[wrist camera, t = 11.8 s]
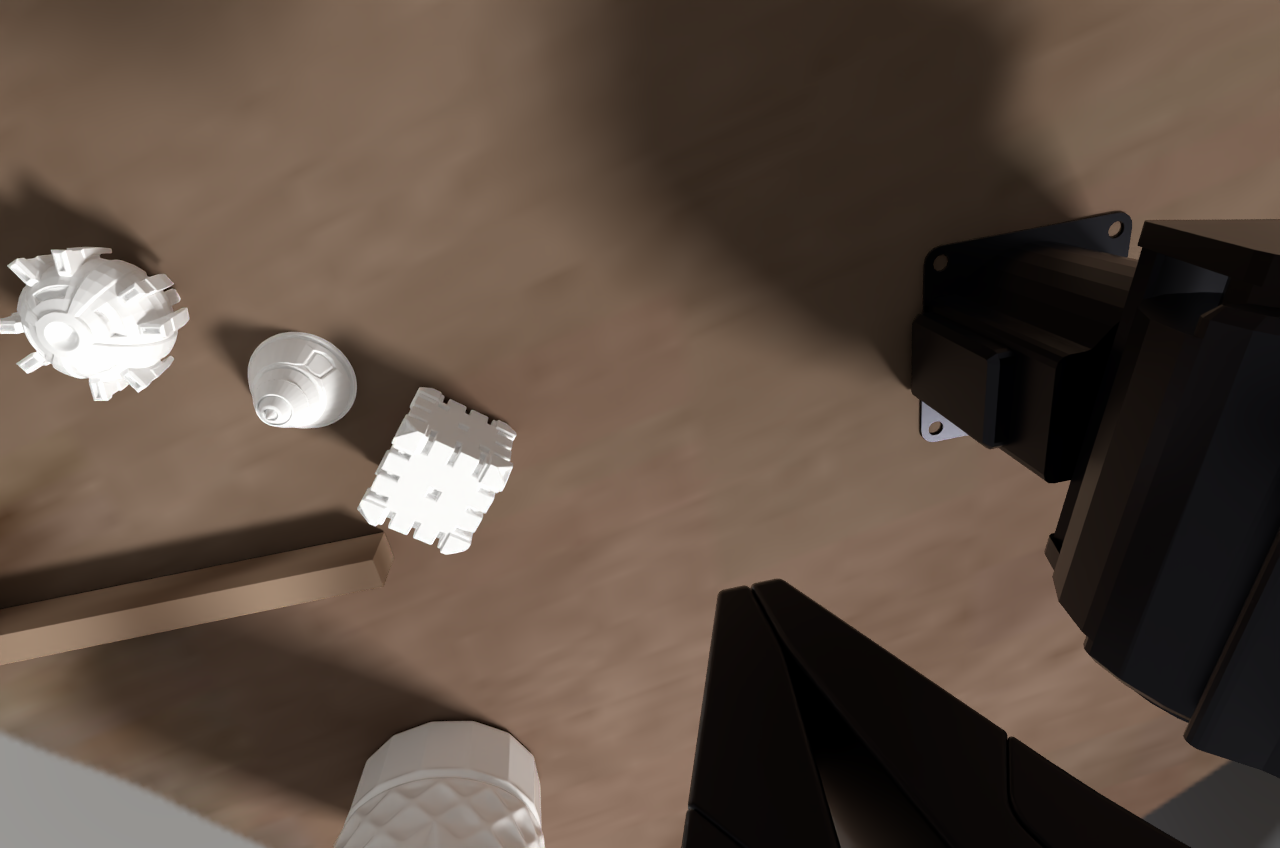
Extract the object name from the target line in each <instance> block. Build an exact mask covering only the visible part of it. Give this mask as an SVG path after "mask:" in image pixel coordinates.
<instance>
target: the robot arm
mask: <svg viewBox="0 0 1280 848" xmlns="http://www.w3.org/2000/svg"><path fill="white" fill-rule="evenodd" d="M1116 221H1120V222H1121V223H1122V230H1121V232H1120V234H1119V235H1118V236H1116V237H1114V238H1111V237H1110V236H1109V234H1108V230H1109V228H1110V226H1111V225H1112V224H1113V223H1114V222H1116ZM1131 230H1132V220H1131V218H1130V216H1129V215H1127V214H1126V213H1119V212H1116V213H1111V214H1105V215H1100V216H1095V217H1089V218H1084V219H1079V220H1074V221H1068V222H1063V223H1058V224H1052V225H1047V226H1042V227H1036V228H1031V229H1026V230H1020V231H1015V232H1010V233H1004V234H999V235H994V236H988V237H983V238H978V239H973V240H967V241H962V242H957V243H951V244H946V245H941V246H938V247H935V248H933V249H932V250H931V251H930V252H929V253H928V255H927V256H926V258H925V261H924V273H923V313H922V314H918V315H917V316H916V318H915V320H914V321H913V324H912V384H911V391H912V394H913V395H914V396H916V397H917V398H918V399H920V400H921V410H920V432H921V436H922V437H923V438H924V439H925V440H927V441H929V442H936V441H941V440H946V439H951V438H956V437H961V436H966V435H969V436H971V437H972V438H973V439H975V440H976V441H977V442H979V443H980V444H982V445H983V446H984V447H986V448H988V449H994V448H1000V449H1001V450H1002V451H1004V452H1005V453H1007V454H1008V455H1009V456H1011V457H1012V458H1014V459H1015V460H1017V461H1018V462H1019V463H1021V464H1022V465H1024V466H1025V467H1026V468H1028V469H1029V470H1031V471H1032V472H1034V473H1035V474H1036V475H1038V476H1039V477H1041V478H1042V479H1044V480H1045V481H1046V482H1048V483H1058V482H1063V481H1067V480H1071V482H1070V485H1069V489H1068V492H1067V495H1066V498H1065V502H1064V505H1063V508H1062V511H1061V515H1060V518H1059V521H1058V525H1057V528H1056V531H1055V533H1053V534H1050V535H1049V539H1048V542H1047V545H1046V549H1045V555H1046V557H1047V559H1048V561H1049V562H1050V564H1051V566H1052V568H1053V569H1054V573H1053V581H1054V585H1055V589H1056V593H1057V597H1058V601H1059V602H1060V604H1061V605H1062V606H1063V608H1064V609H1065V610H1066V611H1067V613H1068V614H1069V615H1070V617H1071V618H1072V619H1073V621H1074V622H1075V623H1076V624H1077V626H1078V627H1079V628H1080V630H1081V631H1082V632H1083V633H1084V634H1085V635H1086V639H1085V641H1084V649H1085V650H1086V652H1087V653H1088V654H1089V655H1090V656H1091V657H1092V659H1093V660H1094V661H1095V662H1096V663H1098V664H1099V665H1100V666H1102V667H1103V668H1104V669H1105V670H1107V671H1108V672H1109V673H1110V674H1112V675H1113V676H1114V677H1116V678H1117V679H1118V680H1119V681H1121V682H1122V683H1123V684H1124V685H1126V686H1128V687H1129V688H1131V689H1132V690H1134V691H1135V692H1137V693H1138V694H1139V695H1141V696H1142V697H1143V698H1145V699H1146V700H1148V701H1149V702H1150V703H1152V704H1154V705H1155V706H1157V707H1159V708H1161V709H1162V710H1164V711H1166V712H1168V713H1169V714H1171V715H1173V716H1175V717H1177V718H1178V719H1181V720H1183V721H1185V722H1188V725H1187V727H1186V730H1185V732H1184V735H1183V736H1184V738H1185V740H1186V741H1187V742H1188V743H1189V744H1190V745H1191V746H1193V747H1195V748H1196V749H1199V750H1201V751H1204V752H1207V753H1210V754H1213V755H1217V756H1220V757H1223V758H1226V759H1229V760H1232V761H1235V762H1238V763H1241V764H1245V765H1248V766H1251V767H1254V768H1257V769H1260V770H1263V771H1265V772H1267V773H1269V774H1272V775H1274V776H1276V777H1278V778H1280V219H1251V220H1146V221H1145V222H1144V225H1143V229H1142V232H1141V235H1140V238H1139V242H1138V246H1140V247H1142V251H1141V254H1140V257H1139V260H1136V259H1132V258H1127V257H1128V250H1129V244H1130V237H1131ZM941 254H945V255H946V256H947V258H948V263H947V266H946V267H945V268H944V269H943V270H941V271H936V270H935V269H934V267H933V262H934V260H935V258H936V257H937V256H939V255H941ZM936 421H940V422H941V424H942V427H941V430H940V431H939V432H938V433H936V434H930V433H929V430H928V429H929V426H930V425H931V424H932V423H933V422H936ZM688 809H689V810H688V811H687V813H686V819H685V826H684V833H683V840H682V846H681V848H1191V847H1189V846H1187V845H1185V844H1184V843H1182V842H1180V841H1178V840H1177V839H1175V838H1173V837H1172V836H1170V835H1168V834H1166V833H1165V832H1163V831H1161V830H1160V829H1158V828H1156V827H1154V826H1153V825H1151V824H1150V823H1148V822H1146V821H1145V820H1143V819H1141V818H1140V817H1138V816H1136V815H1135V814H1133V813H1131V812H1130V811H1128V810H1126V809H1125V808H1123V807H1121V806H1119V805H1118V804H1116V803H1114V802H1113V801H1111V800H1109V799H1108V798H1106V797H1104V796H1103V795H1101V794H1099V793H1098V792H1096V791H1095V790H1093V789H1092V788H1090V787H1089V786H1087V785H1086V784H1084V783H1082V782H1081V781H1079V780H1078V779H1076V778H1075V777H1073V776H1072V775H1070V774H1069V773H1067V772H1066V771H1064V770H1063V769H1061V768H1059V767H1058V766H1056V765H1055V764H1053V763H1052V762H1050V761H1049V760H1047V759H1046V758H1044V757H1043V756H1041V755H1040V754H1038V753H1037V752H1035V751H1034V750H1032V749H1031V748H1029V747H1028V746H1027V745H1025V744H1024V743H1022V742H1021V741H1019V740H1018V739H1016V738H1015V737H1009V738H1008V740H1007V733H1006V732H1005V731H1004V730H1003V729H1001V728H1000V727H998V726H997V725H995V724H994V723H992V722H991V721H989V720H988V719H986V718H985V717H984V716H982V715H981V714H979V713H978V712H976V711H975V710H973V709H972V708H970V707H969V706H967V705H966V704H964V703H963V702H962V701H960V700H959V699H957V698H956V697H954V696H953V695H951V694H950V693H948V692H947V691H945V690H944V689H942V688H941V687H940V686H938V685H937V684H935V683H934V682H932V681H931V680H929V679H928V678H926V677H925V676H923V675H922V674H920V673H919V672H918V671H916V670H915V669H913V668H912V667H910V666H909V665H907V664H906V663H904V662H903V661H901V660H900V659H898V658H897V657H896V656H894V655H893V654H891V653H890V652H888V651H887V650H885V649H884V648H882V647H881V646H879V645H878V644H876V643H875V642H874V641H872V640H871V639H869V638H868V637H866V636H865V635H863V634H862V633H860V632H859V631H857V630H856V629H855V628H853V627H852V626H850V625H849V624H847V623H846V622H844V621H843V620H841V619H840V618H838V617H837V616H835V615H834V614H833V613H831V612H830V611H828V610H827V609H825V608H824V607H822V606H821V605H819V604H818V603H816V602H815V601H813V600H812V599H811V598H809V597H808V596H806V595H805V594H803V593H802V592H800V591H799V590H797V589H796V588H794V587H793V586H791V585H790V584H789V583H787V582H786V581H784V580H782V579H773V580H768V581H763V582H758V583H754V584H753V585H752V586H751V588H749V587H748V586H739V587H735V588H730V589H725V590H722V591H720V592H719V594H718V597H717V604H716V611H715V618H714V625H713V632H712V639H711V646H710V653H709V660H708V667H707V674H706V681H705V688H704V695H703V703H702V710H701V717H700V724H699V731H698V738H697V745H696V752H695V759H694V766H693V773H692V780H691V787H690V794H689V801H688Z"/></svg>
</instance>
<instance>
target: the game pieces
mask: <svg viewBox="0 0 1280 848" xmlns="http://www.w3.org/2000/svg"><path fill="white" fill-rule="evenodd" d="M51 253H52V254H50V255H41V256H36V257H35V258H32V259H25V258H17V259H16V260H14V261H13V262H11V263H10V264H9V265H7V266H8V267H9V268H10V269H11V270H12V271H13V272H14V273H15V274H16V275H17V276H18V277H19V278H20V279H21V280H22V281H23V282H24V283H25V284H26V286H25V287H24V288H23V290H22V292H21V294H20V296H19V300H18V306H17V311H18V312H16V313H12V316H9V317H6V318H0V333H1V334H19V333H23V332H24V333H25V335H26V337H27V338H28V340H29V342H30V343H31V345H32V346H33V347H34V348H35V350H36V351H37V352H34V353H31V354H29V355H28V356H26V357H25V358H24V359H22V360H21V361H19V362H18V363H16V364H17V365H18V366H19V367H21V368H22V369H23V370H24V371H25V372H26V373H27V374H28V373H30V372H33V371H35V370H36V369H38V368H39V367H41V366H43V365H45V366H46V365H49V364H53V367H54V368H55V369H56V370H58V371H60V372H62V373H64V374H66V375H69V376H72V377H75V378H80V379H85V378H89V385H90V389H91V392H92V395H93V399H94V401H108V400H109V399H111V398H112V395H113V394H114V393H116V392H117V391H121V390H123V389H124V388H125V387H126V386H128V385H129V384H130V385H131V386H132V387H133V388H134V389H135V390H136V391H137V392H140V391H141V390H143V389H144V388H146V387H147V386H149V385H150V384H151V381H153V380H154V379H156V378H157V377H159V376H160V375H161V374H162V373H163V372H164V371H165V370H166V369H167V368H168V367H169V366H170V365H171V363H172V362H173V360H174V358H173V357H172V356H169V357H168V358H166V359H164V360H163V361H162V362H161V361H160V359H161V358H163V357H165V356H166V355H168V354H169V353H170V351H171V349H172V348H173V346H174V344H175V341H176V338H177V334H178V329H180V328H181V327H182V326H184V325H185V324H186V323H187V322H188V320H189V319H190V318H189V314H188V309H187V308H181V309H179V310H177V311H175V312H173V307H172V305H174V304H176V303H179V302H180V301H179V300H181V299H180V297H179V294H178V293H177V291H176V290H175V289H173V288H172V289H170V290H167V291H165V292H164V291H163V290H164V289H166V288H168V287H170V286H172V285H173V284H174V283H173V282H172V281H171V280H170V279H169V278H168V277H167V275H166V274H157V275H154V276H151V277H148V276H147V274H146V272H145V271H144V270H142V269H140V268H139V267H137V266H135V265H133V264H131V263H128V262H125V261H122V260H117V259H115V260H107V259H102V258H100V255H101V254H105V253H112V249H111V248H103V247H75V248H67V250H59V249H54V250H51ZM248 383H249V388H250V392H251V394H252V397H253V405H254V408H255V411H256V413H257V415H258V417H259V418H260V419H261V420H262V421H263V422H264V423H266V424H268V425H271V426H275V427H282V428H288V427H294V428H318V427H324V426H327V425H330V424H332V423H335V422H336V421H338V420H339V419H341V418H342V417H343V416H344V415H345V414H347V413H348V411H349V410H350V408H351V407H352V405H353V403H354V400H355V397H356V392H357V382H356V376H355V373H354V370H353V367H352V366H351V364H350V362H349V360H348V359H347V358H346V356H345V355H344V354H343V353H342V352H341V351H340V350H339V349H338V348H337V347H335V346H334V345H333V344H332V343H330V342H328V341H327V340H325V339H323V338H321V337H318V336H316V335H313V334H309V333H304V332H286V333H280V334H277V335H274V336H272V337H269V338H268V339H266V340H265V341H263V342H262V343H261V344H260V345H259V346H258V347H257V348H256V349H255V351H254V352H253V354H252V356H251V358H250V361H249V365H248ZM443 400H444V396H443V395H442V393H441V392H440V391H438V390H436V389H434V388H426V387H419V389H418V391H417V393H416V395H415V397H414V399H413V401H412V403H411V405H410V409H411V410H410V412H409V414H408V415H407V414H406V415H405V417H404V419H403V421H402V423H401V425H400V427H399V429H398V431H397V433H396V435H395V437H394V439H393V441H392V444H393V445H392V447H391V448H390V450H387V451H386V453H385V455H384V457H383V459H382V461H381V463H380V465H379V467H378V469H377V471H376V473H375V474H376V475H377V476H376V478H375V480H374V482H373V484H372V486H371V487H370V488H368V489H367V491H366V493H365V495H364V497H363V499H362V500H361V502H360V504H359V506H358V508H357V509H358V511H359V512H360V513H361V514H362V516H363V517H364V518H365V519H366V521H367V522H368V523H369V524H370V525H373V526H377V525H378V524H380V525H382V524H383V523H384V521H385V519H386V517H388V518H390V519H391V520H390V523H389V525H388V528H390V529H392V530H395V531H397V532H400V533H402V534H405V535H407V534H408V533H409V531H410V529H411V528H415V532H414V535H413V538H415V539H417V540H420V541H422V542H425V543H427V544H430V545H431V544H433V542H434V540H435V538H436V537H437V538H439V542H438V548H440V553H443V554H445V555H448V554H453V553H458V552H463V551H465V550H467V549H468V548H469V546H470V545H471V541H472V535H473V533H474V532H475V531H476V529H477V527H478V526H479V524H480V522H481V520H482V518H483V513H486V512H487V510H488V509H489V507H490V505H491V503H492V502H493V500H494V496H495V493H498V492H499V491H500V492H502V491H503V489H504V487H505V485H506V482H507V480H508V477H509V475H510V473H511V470H512V468H513V463H511V462H509V461H510V459H511V451H510V450H511V449H512V442H513V440H514V438H515V437H516V432H515V431H514V430H513V429H512V428H511V427H510V426H509V425H508V424H506V423H504V422H502V421H500V420H497V421H495V420H493V421H492V423H491V424H490V425H489V424H487V422H488V417H487V416H485V415H483V414H481V413H479V412H477V411H475V410H471V411H470V413H469V415H468V414H466V413H465V412H466V409H467V407H466V406H464V405H462V404H460V403H458V402H456V401H454V400H452V399H449V401H448V403H447V404H445V403H443Z"/></svg>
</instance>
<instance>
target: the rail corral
mask: <svg viewBox="0 0 1280 848" xmlns="http://www.w3.org/2000/svg"><path fill="white" fill-rule="evenodd" d="M393 559H394V557H393V554H392V551H391V549H390V546H389V543H388V541H387V538H386V536H385V533H384V532H382V533H377V534H372V535H367V536H362V537H357V538H352V539H347V540H343V541H338V542H333V543H328V544H323V545H318V546H313V547H308V548H303V549H298V550H293V551H288V552H283V553H278V554H273V555H268V556H263V557H258V558H253V559H248V560H243V561H238V562H233V563H228V564H223V565H218V566H213V567H208V568H203V569H199V570H194V571H189V572H184V573H179V574H174V575H169V576H164V577H159V578H154V579H149V580H144V581H139V582H134V583H129V584H124V585H119V586H114V587H109V588H104V589H99V590H94V591H89V592H84V593H79V594H74V595H69V596H64V597H59V598H55V599H50V600H45V601H40V602H35V603H30V604H25V605H20V606H15V607H10V608H5V609H0V665H4V664H9V663H14V662H18V661H23V660H28V659H33V658H38V657H43V656H48V655H53V654H57V653H62V652H67V651H72V650H77V649H82V648H87V647H92V646H96V645H101V644H106V643H111V642H116V641H121V640H126V639H131V638H135V637H140V636H145V635H150V634H155V633H160V632H165V631H169V630H174V629H179V628H184V627H189V626H194V625H199V624H204V623H208V622H213V621H218V620H223V619H228V618H233V617H238V616H243V615H247V614H252V613H257V612H262V611H267V610H272V609H277V608H282V607H286V606H291V605H296V604H301V603H306V602H311V601H316V600H320V599H325V598H330V597H335V596H340V595H345V594H350V593H355V592H359V591H364V590H369V589H374V588H379V587H383V586H384V584H385V581H386V578H387V575H388V573H389V570H390V567H391V564H392V562H393Z"/></svg>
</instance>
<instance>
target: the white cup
mask: <svg viewBox="0 0 1280 848" xmlns="http://www.w3.org/2000/svg"><path fill="white" fill-rule="evenodd" d="M333 848H545V843H544V835H543V832H542V829H541V789H540V780H539V776H538V772H537V768H536V764H535V760H534V757H533V755H532V754H531V753H530V752H529V751H528V750H527V749H526V748H525V747H524V746H523V745H522V744H521V743H519V742H518V741H517V740H516V739H515V738H514V737H513V736H512V735H511V734H510V733H508V732H505V731H502V730H499V729H496V728H493V727H490V726H487V725H484V724H481V723H478V722H475V721H433V722H429V723H426V724H423V725H420V726H417V727H415V728H412V729H409V730H406V731H404V732H401V733H398V734H395V735H393V736H392V737H391V738H390V739H389V740H388V741H387V742H386V743H385V744H384V745H382V746H381V747H380V748H379V749H378V750H377V751H376V752H375V753H374V754H373V755H372V756H371V757H370V758H369V759H368V760H367V762H366V764H365V767H364V770H363V773H362V776H361V779H360V782H359V785H358V788H357V791H356V794H355V797H354V799H353V802H352V805H351V808H350V811H349V813H348V816H347V818H346V821H345V824H344V827H343V829H342V831H341V833H340V835H339V836H338V838H337V839H336V841H335V842H334V845H333Z"/></svg>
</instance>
